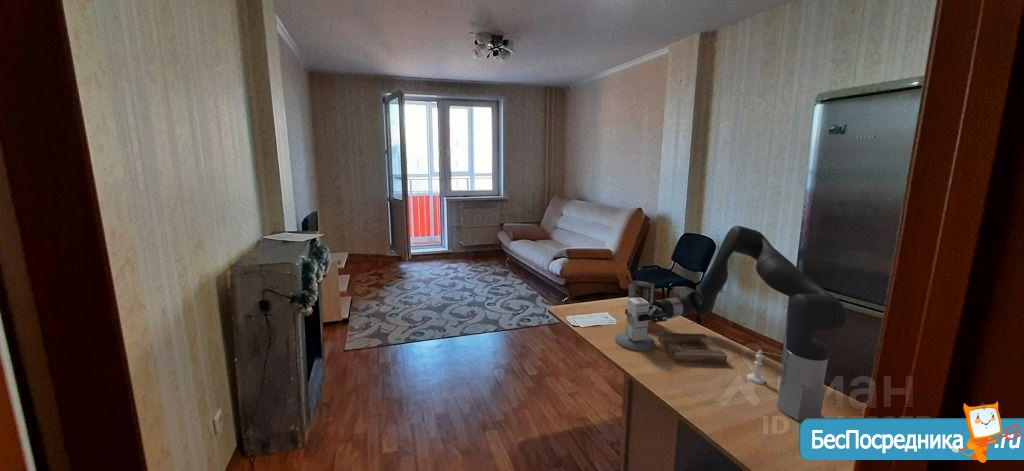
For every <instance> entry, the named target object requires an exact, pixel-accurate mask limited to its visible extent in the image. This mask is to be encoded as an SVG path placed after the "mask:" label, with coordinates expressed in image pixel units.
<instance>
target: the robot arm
mask: <svg viewBox="0 0 1024 471" xmlns="http://www.w3.org/2000/svg"><path fill="white" fill-rule="evenodd" d="M733 253H737V254H741V255H745V256H749V257H751V258H752V259H754V260H755V261H756V264H755V270H756V273H757V275H758V276H759V277H760V278H761V279H762V281H764V283H765V284H766V285H767V286H768V287H770V288H771V289H773V290H774V291H776V292H778V293H780V294H782V295H785V296H787V297H789V298H791V299H790V300H789V303H788V308H787V310H788V311H787V320H786V328H785V339H786V346H785V352H784V357H783V363H782V371H781V376H780V380H779V381H780V383H779V387H778V388H779V389H778V396H777V401H776V406H777V408H778V410H780V412H782V413H783V414H784V415H786V416H788V417H790V418H793V419H794V420H795V421H800V422H803V421H802V420H804V419H807V418H820V419H821V415H822V410H823V405H824V401H825V400H824V399H825V393H826V388H825V387H824V382H825V379H826V372H827V367H828V361H829V357H830V347H829V346H828V345H827V344H826V343H824V342H823V341H821V340H819V339H816V338H814V337H813V331H835V330H836V331H837V330H839V329H842V328H843V327H844V326H845V325H846V323H847V317H848V316H847V313H846V309H845V307H844V305H843V303H842V302H841V301H840V300H839V299H838V297H836V296H834V295H833V294H832V293H831V292H829V291H827V290H826V289H824V288H823V287H822V286H819V284H817V283H815V281H813V280H812V279H811V278H810V277H808V276H807V275H806V274H804V273H803V272H802V271H801V270H800V269H799V268H797V266H796V265H795V264H794V263H793V262H791V261H790V260H789V259H788V258H787V257H785V255H783V254H782V253H781V252H780V251H779V250H778V249H776V248H775V247H774V246H773V245H772V244H771V243H770V242H769V240H768V239H767V238H766V236H765V235H764V234H763V233H761V231H758V230H756V229H753V228H748V227H745V226H741V225H734V226H732V227H731V228H730V229H729V231H727V233H726V235H725V237H724V238H723V241H722V243H721V245H720V247H719V250H718V251H717V253H716V257H715V259H714V260H713V263H712V264H711V267H710V269H709V270H708V271H707V273H706V275H705V276H704V277H703V279H702V281H701V282H700V284H699V285H698V287H699V290H696V289H695V290H694V289H693V290H691V291H689V292H687V293H685V294H684V295H682V296H679V297H669V298H662V299H658V300H653V303H652V304H651V305H649V311H648V314H642V315H639V316H638V321H640V322H641V321H646V320H647V321H651V322H652V323H661V322H663V323H664V322H667V321H668V320H669V319H670V320H671V319H675V318H678V317H681V316H683V317H684V316H688V315H689V314H690V315H691V313H692V312H694V313H695V314H696V315H697V316H698V317H706V316H709V314H711V313H712V311H713V309H714V307H715V304H716V300H717V297H718V294H719V292H720V291H721V290H722V289H723V288H724V286H725V285H726V283H727V281H728V276H729V266H728V264H729V263H728V262H729V259H730V257H731V256H732V254H733ZM624 313H625V315H627V308H625V312H624Z"/></svg>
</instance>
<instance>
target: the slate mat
mask: <svg viewBox="0 0 1024 471" xmlns="http://www.w3.org/2000/svg"><path fill="white" fill-rule="evenodd" d="M614 342H615V343H616V344H617V345H618V346H620V347H621V348H623V349H626V350H628V351H629V350H630V351H633V352H649V351H651V350H653V349H654V348H655V347H656V346H655V345H656V344H655V343H656V342H655V340H654V339H653V338H652V337H650V336H649V335H647V339H646V340H640V341H633V340H632V339H630V338H629V337H628V336H627V335H626V331H625V332H619V333H618V334H615V341H614Z"/></svg>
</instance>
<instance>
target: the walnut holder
mask: <svg viewBox="0 0 1024 471" xmlns="http://www.w3.org/2000/svg"><path fill="white" fill-rule="evenodd" d="M658 342H659V343H660V345H661V346H662V347H663V349H665V351H666V352H667V354H669V356H670V357H671V358H672V361H674V363H678V364H679V363H680V364H682V363H683V364H709V365H710V364H711V365H712V364H714V365H715V364H716V365H718V364H719V365H726V364H727V360H728V355H727V354H726V353H725V352H724V351H723V350H722V349H721V348H720V347H719V346H718V345H717V344H716V343H715V342H713V340H711V338H709V336H707V335H706V334H705V333H685V332H684V333H683V332H681V333H678V332H677V333H676V332H658ZM682 346H698V347H699V348H700V349H682Z"/></svg>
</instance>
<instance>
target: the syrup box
mask: <svg viewBox="0 0 1024 471" xmlns="http://www.w3.org/2000/svg"><path fill="white" fill-rule="evenodd" d="M628 298H629V297H628ZM628 298H627V308H626V309H627V314H626V323H625V324H626V325H625V332H626V335H627V336H628V337H629V338H630V339H632V340H633V341H640V340H646V339H647V336H648V325H649V324H648V321H647V320H646V321H641V322H640V321H638V316H639V315H642V314H648V311H649V302H647V301H646V300H644V299H642V298H640V297H636V298H629V299H628Z"/></svg>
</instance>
